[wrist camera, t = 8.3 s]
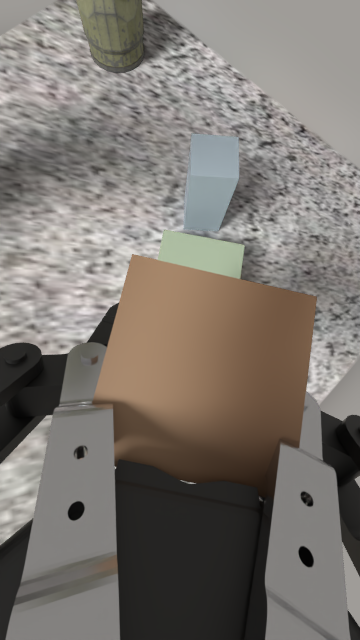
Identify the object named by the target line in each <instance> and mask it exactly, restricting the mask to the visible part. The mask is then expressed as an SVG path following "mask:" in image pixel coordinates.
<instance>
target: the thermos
mask: <svg viewBox="0 0 360 640" xmlns="http://www.w3.org/2000/svg"><path fill="white" fill-rule="evenodd" d="M76 1H77V5H78V9H79V13H80V17H81V21H82V24H83V28H84V32H85V35H86V37H87V39H88V42H89V46H90V52H91V56H92V58H93V60H94V62H95V63H96V64H97V65H98V66H99V67H101V68H103V69H105V70H107V71H110V72H115V73H121V72H127V71H130V70H133V69H134V68H136V67H137V66H139V64H140V63H141V62H142V60H143V57H144V45H143V33H144V28H143V13H142V0H76Z"/></svg>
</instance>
